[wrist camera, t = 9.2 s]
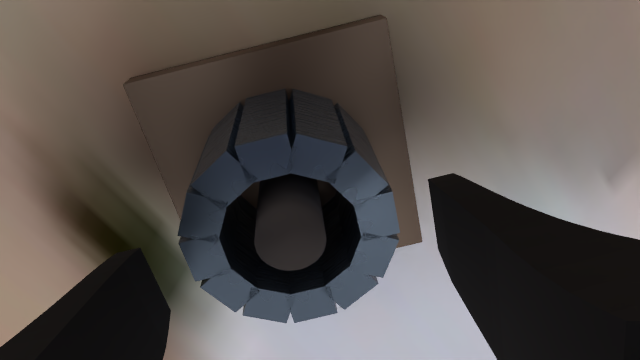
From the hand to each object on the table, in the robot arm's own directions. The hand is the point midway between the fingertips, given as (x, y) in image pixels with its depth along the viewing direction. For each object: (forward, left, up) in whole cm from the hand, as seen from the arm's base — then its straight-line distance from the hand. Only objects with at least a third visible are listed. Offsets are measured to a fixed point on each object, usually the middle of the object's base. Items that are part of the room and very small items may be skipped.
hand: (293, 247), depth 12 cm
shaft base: (0, 0, -5) cm, 5 cm away
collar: (0, 0, -5) cm, 5 cm away
